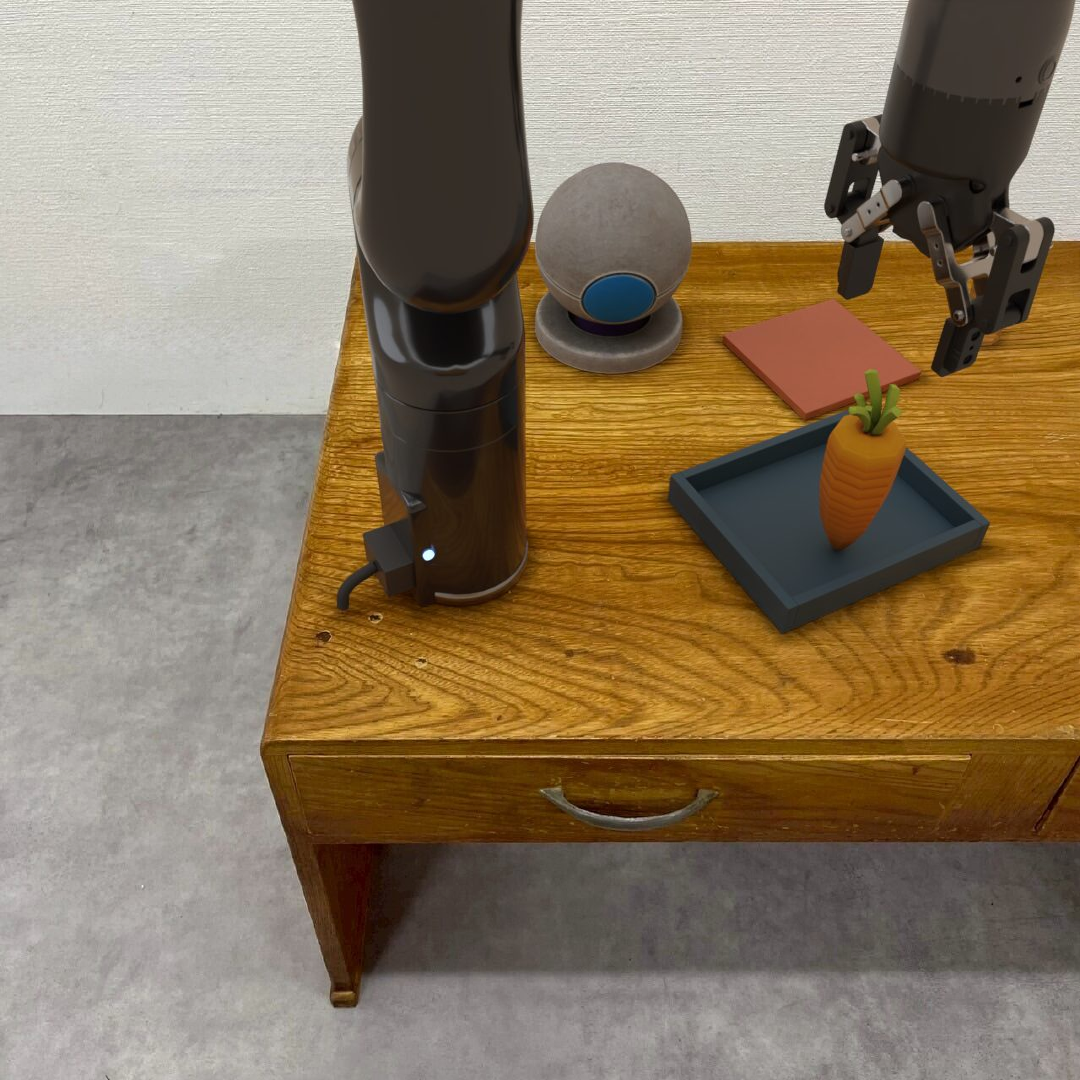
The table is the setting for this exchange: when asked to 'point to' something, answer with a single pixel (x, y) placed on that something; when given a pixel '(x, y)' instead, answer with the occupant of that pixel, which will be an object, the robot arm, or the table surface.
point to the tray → (817, 525)
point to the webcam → (611, 269)
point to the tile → (818, 357)
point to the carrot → (860, 464)
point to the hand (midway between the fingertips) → (899, 330)
